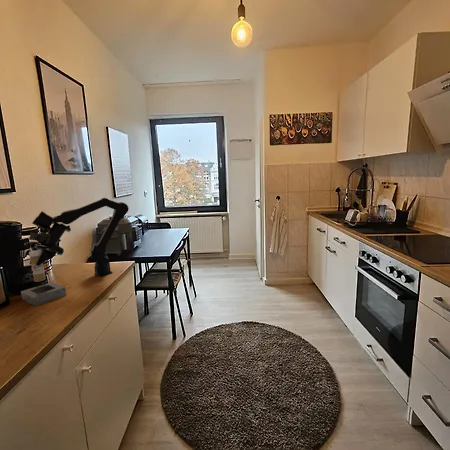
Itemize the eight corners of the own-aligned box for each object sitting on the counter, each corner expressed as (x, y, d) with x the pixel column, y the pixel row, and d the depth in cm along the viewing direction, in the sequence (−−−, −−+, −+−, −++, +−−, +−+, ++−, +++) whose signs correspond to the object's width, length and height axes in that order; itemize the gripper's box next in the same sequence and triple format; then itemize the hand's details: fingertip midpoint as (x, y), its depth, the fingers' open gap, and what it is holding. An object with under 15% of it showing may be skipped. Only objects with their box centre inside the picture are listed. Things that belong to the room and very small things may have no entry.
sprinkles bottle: (32, 282, 124) (27, 253, 122) (35, 279, 129) (30, 250, 126) (44, 281, 126) (39, 251, 123) (47, 277, 130) (42, 249, 127)
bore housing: (53, 289, 127) (51, 282, 127) (66, 295, 120) (65, 287, 120) (22, 299, 118) (20, 291, 117) (34, 306, 111) (33, 297, 110)
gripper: (27, 224, 130) (5, 253, 123) (53, 225, 122) (30, 257, 114) (47, 237, 139) (27, 265, 131) (72, 239, 130) (52, 270, 123)
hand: (33, 264), depth 125 cm, fingers closed on sprinkles bottle, 4 cm apart
